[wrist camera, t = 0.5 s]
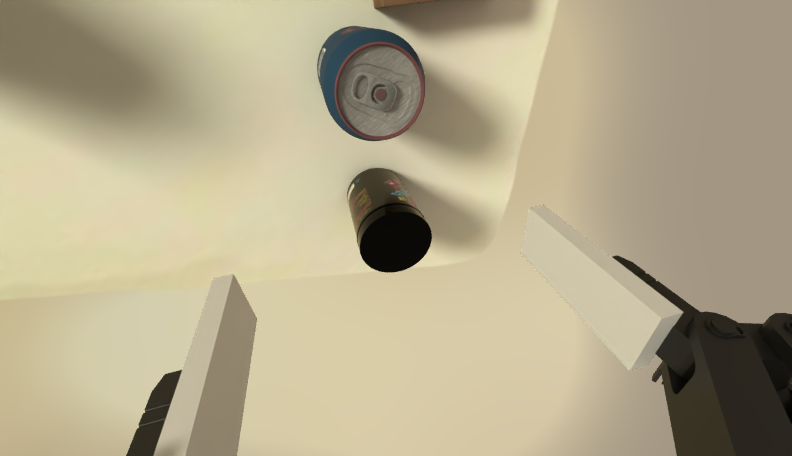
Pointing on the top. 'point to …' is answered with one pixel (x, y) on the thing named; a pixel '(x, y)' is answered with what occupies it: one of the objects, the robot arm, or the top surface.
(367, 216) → the supplement container
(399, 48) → the soda can
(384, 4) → the walnut slab
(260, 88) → the top surface
